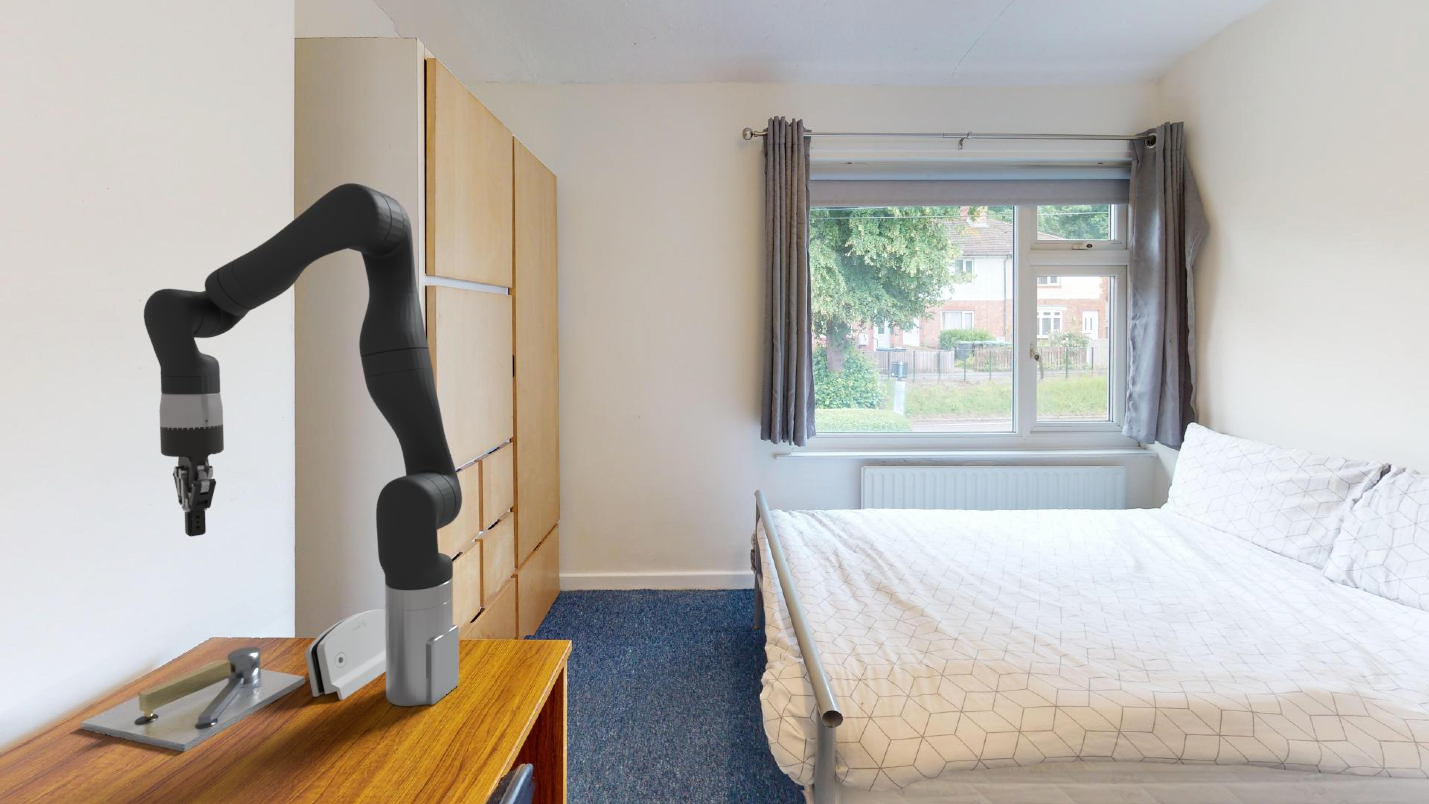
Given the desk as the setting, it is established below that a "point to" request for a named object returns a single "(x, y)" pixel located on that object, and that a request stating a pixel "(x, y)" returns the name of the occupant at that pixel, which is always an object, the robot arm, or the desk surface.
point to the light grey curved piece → (348, 654)
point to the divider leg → (182, 686)
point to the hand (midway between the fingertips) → (195, 534)
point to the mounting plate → (199, 706)
